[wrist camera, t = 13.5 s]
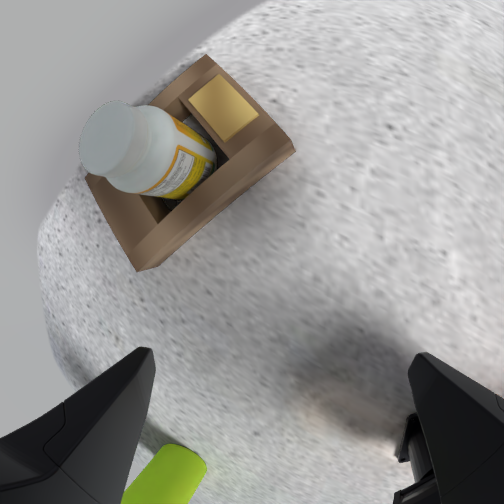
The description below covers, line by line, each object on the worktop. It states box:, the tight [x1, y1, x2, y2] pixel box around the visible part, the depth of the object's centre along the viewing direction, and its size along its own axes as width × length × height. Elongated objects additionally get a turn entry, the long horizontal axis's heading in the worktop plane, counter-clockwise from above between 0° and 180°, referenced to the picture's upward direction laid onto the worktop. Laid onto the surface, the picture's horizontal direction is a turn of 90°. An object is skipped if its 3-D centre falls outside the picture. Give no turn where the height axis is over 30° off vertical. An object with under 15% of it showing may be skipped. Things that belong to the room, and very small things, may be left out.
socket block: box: [85, 54, 296, 272], centre depth 19 cm, size 14×10×3 cm
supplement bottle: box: [79, 101, 217, 200], centre depth 16 cm, size 5×5×10 cm
